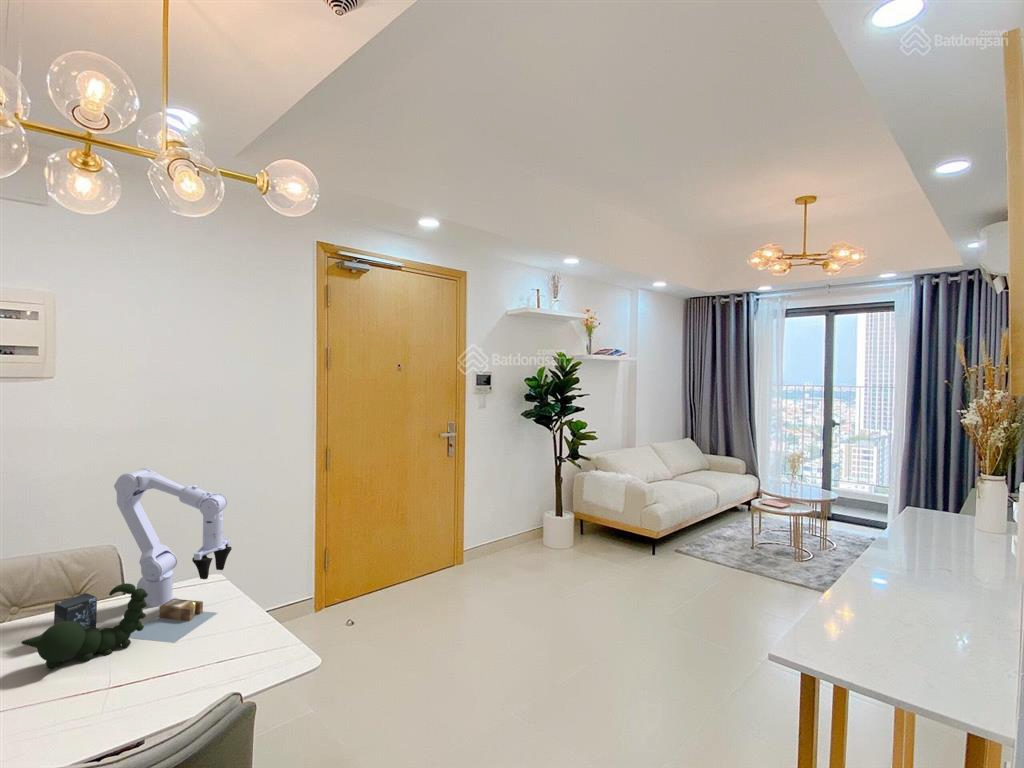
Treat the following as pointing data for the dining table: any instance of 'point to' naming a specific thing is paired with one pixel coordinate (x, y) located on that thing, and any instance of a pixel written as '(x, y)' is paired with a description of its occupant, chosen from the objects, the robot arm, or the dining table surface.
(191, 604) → the peg
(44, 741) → the dining table surface
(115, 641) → the toy figurine
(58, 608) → the box
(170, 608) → the wooden holder
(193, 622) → the board
